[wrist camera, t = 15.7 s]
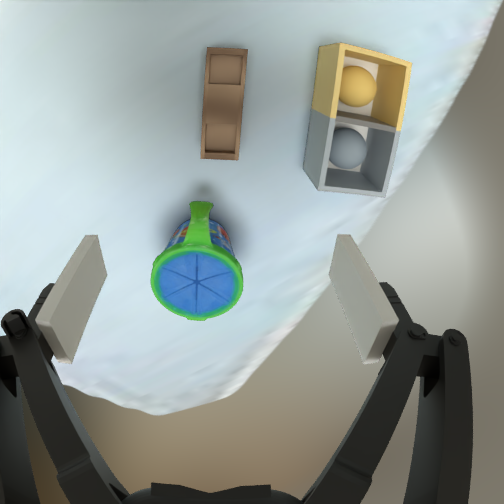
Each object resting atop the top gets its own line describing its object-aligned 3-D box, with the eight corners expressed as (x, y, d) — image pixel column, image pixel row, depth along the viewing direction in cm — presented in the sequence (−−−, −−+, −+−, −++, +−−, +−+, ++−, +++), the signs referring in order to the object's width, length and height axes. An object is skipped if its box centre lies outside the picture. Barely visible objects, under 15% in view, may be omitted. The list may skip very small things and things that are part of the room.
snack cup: (229, 289, 49) (230, 338, 40) (160, 279, 47) (148, 327, 38) (251, 195, 41) (258, 233, 32) (170, 181, 39) (153, 217, 30)
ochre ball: (331, 61, 31) (342, 61, 27) (370, 70, 32) (386, 71, 27) (326, 100, 34) (336, 105, 30) (364, 108, 34) (379, 114, 30)
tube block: (319, 46, 31) (339, 42, 24) (381, 61, 31) (411, 62, 25) (302, 168, 39) (317, 190, 33) (361, 175, 40) (385, 197, 34)
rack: (209, 50, 30) (207, 47, 26) (245, 52, 31) (247, 49, 26) (203, 147, 37) (200, 158, 32) (237, 149, 37) (238, 160, 33)
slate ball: (323, 121, 35) (335, 129, 31) (361, 127, 36) (377, 136, 32) (317, 159, 38) (328, 172, 34) (354, 164, 38) (368, 177, 34)
